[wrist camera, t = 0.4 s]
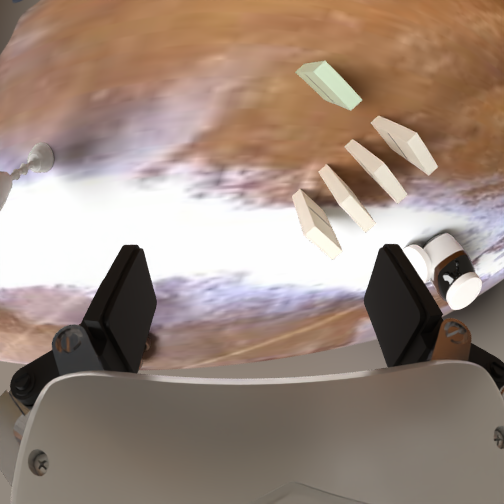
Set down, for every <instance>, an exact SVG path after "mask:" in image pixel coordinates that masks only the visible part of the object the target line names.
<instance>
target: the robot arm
mask: <svg viewBox="0 0 504 504" xmlns="http://www.w3.org/2000/svg"><path fill="white" fill-rule="evenodd" d="M364 304H365V307H366V310H367V312H368V315H369V317H370V320H371V322H372V325H373V328H374V330H375V333H376V336H377V338H378V341H379V344H380V347H381V349H382V352H383V355H384V358H385V361H386V364H387V366H388V368H381V369H375V370H367V371H360V372H352V373H343V374H332V375H322V376H309V377H293V378H269V379H268V378H267V379H215V378H214V379H213V378H188V377H174V376H160V375H148V374H137V373H138V370H139V367H140V363H141V359H142V355H143V351H144V348H145V344H146V340H147V337H148V333H149V330H150V326H151V323H152V319H153V316H154V313H155V309H156V305H157V300H156V296H155V292H154V289H153V285H152V281H151V278H150V274H149V270H148V266H147V262H146V258H145V254H144V251H143V249H142V248H139V246H138V245H123V247H122V248H121V250H120V252H119V253H118V255H117V257H116V259H115V260H114V262H113V264H112V266H111V268H110V269H109V271H108V273H107V275H106V277H105V278H104V280H103V281H102V283H101V285H100V287H99V288H98V290H97V292H96V294H95V296H94V298H93V300H92V302H91V304H90V306H89V308H88V310H87V312H86V314H85V316H84V318H83V320H82V323H81V325H75V324H74V325H68V326H65V327H63V328H62V329H60V330H59V331H58V332H57V333H56V334H55V336H54V338H53V341H52V350H51V351H50V352H48V353H46V354H44V355H43V356H41V357H39V358H38V359H36V360H34V361H33V362H31V363H29V364H27V365H26V366H24V367H22V368H21V369H19V370H18V371H17V372H16V373H15V374H14V375H13V377H12V380H11V384H10V388H11V390H10V391H9V392H8V391H7V390H6V391H5V392H4V393H3V394H2V395H1V396H0V470H1V472H2V473H3V475H4V476H5V478H6V479H7V481H8V482H9V484H10V485H11V486H12V493H11V504H504V363H503V362H502V361H501V360H500V359H498V358H497V357H495V356H493V355H491V354H490V353H488V352H486V351H485V350H483V349H481V348H479V347H477V346H476V345H474V344H472V343H471V333H470V331H469V329H468V328H467V326H465V324H464V323H462V322H461V321H459V320H456V319H451V318H450V319H446V320H444V321H443V319H442V315H443V314H442V312H441V310H440V308H439V307H438V305H437V303H436V302H435V300H434V298H433V297H432V295H431V293H430V292H429V290H428V288H427V287H426V285H425V284H424V282H423V280H422V279H421V277H420V276H419V274H418V273H417V271H416V270H415V268H414V267H413V265H412V264H411V262H410V261H409V259H408V258H407V256H406V255H405V253H404V252H403V250H402V249H401V247H400V246H399V245H398V244H385V245H384V246H383V248H380V249H379V252H378V255H377V259H376V262H375V265H374V269H373V272H372V275H371V278H370V281H369V284H368V287H367V290H366V293H365V296H364Z"/></svg>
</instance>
